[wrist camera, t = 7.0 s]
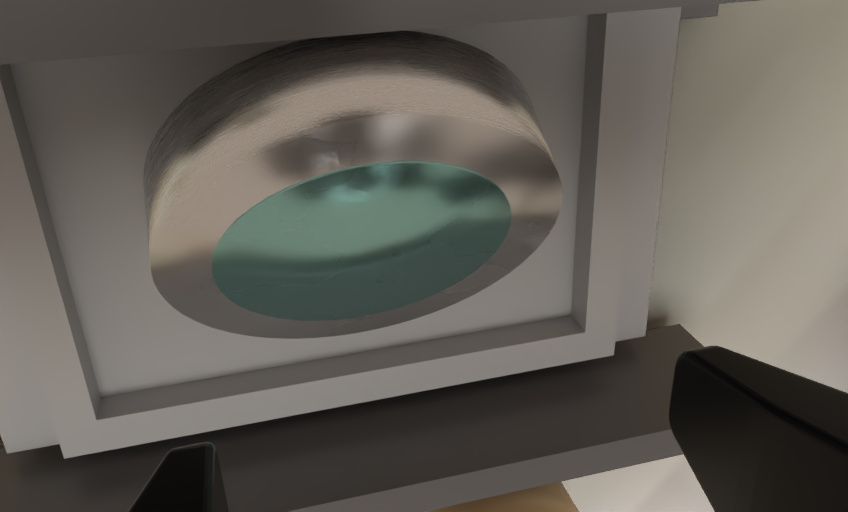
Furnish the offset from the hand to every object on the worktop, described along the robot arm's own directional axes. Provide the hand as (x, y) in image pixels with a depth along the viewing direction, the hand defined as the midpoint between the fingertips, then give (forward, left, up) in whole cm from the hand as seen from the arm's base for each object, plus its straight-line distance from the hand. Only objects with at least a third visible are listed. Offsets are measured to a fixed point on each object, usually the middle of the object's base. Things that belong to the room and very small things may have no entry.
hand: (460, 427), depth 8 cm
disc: (0, 0, -7) cm, 7 cm away
